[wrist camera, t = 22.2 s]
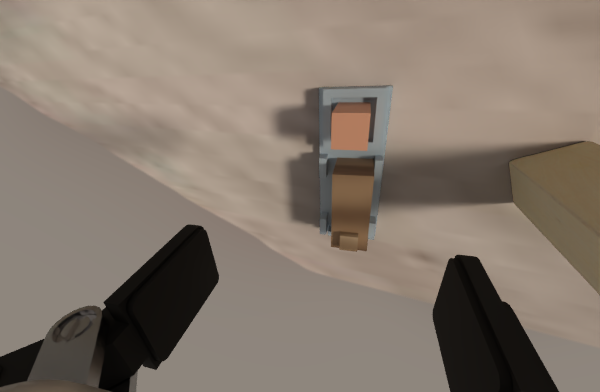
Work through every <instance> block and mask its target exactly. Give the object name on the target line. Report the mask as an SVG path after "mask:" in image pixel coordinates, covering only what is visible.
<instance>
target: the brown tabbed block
mask: <svg viewBox="0 0 600 392" xmlns="http://www.w3.org/2000/svg"><path fill="white" fill-rule="evenodd" d="M373 184H374V159H365V158H338V157H337V161H336V164H335V167H334V170H333V174H332V222H331V247H337V248H340V250H348V251H356V252H357V250H362V251H367V242H368V232H369V223H370V213H371V203H372V194H373Z"/></svg>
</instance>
